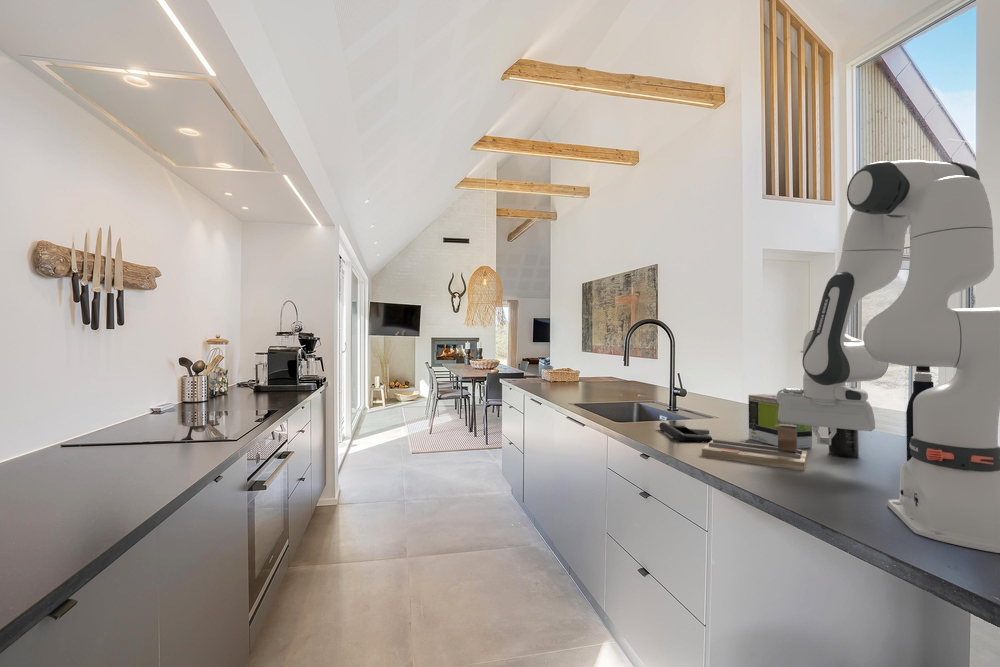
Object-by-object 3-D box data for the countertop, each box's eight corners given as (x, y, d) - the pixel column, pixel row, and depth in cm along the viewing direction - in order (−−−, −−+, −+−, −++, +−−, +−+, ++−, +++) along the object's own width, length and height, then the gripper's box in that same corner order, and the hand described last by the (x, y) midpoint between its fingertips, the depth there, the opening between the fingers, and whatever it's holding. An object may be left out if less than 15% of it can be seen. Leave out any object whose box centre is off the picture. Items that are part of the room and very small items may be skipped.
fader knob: (795, 456, 117) (795, 428, 117) (778, 453, 119) (777, 427, 119) (797, 452, 121) (797, 425, 121) (779, 450, 123) (779, 423, 123)
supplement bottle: (857, 453, 127) (856, 411, 127) (860, 459, 121) (860, 415, 121) (827, 450, 131) (826, 409, 131) (829, 456, 125) (828, 413, 125)
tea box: (813, 447, 134) (813, 399, 134) (785, 450, 132) (785, 400, 132) (773, 436, 149) (772, 392, 149) (747, 438, 147) (747, 393, 147)
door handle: (700, 424, 161) (655, 421, 162) (726, 436, 141) (674, 433, 142) (700, 433, 161) (655, 430, 162) (725, 447, 141) (674, 443, 142)
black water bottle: (944, 475, 107) (943, 351, 107) (908, 471, 111) (907, 350, 111) (939, 469, 112) (938, 350, 112) (905, 464, 116) (904, 350, 116)
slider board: (804, 470, 112) (804, 458, 112) (702, 455, 126) (701, 445, 126) (807, 458, 123) (807, 447, 123) (712, 445, 137) (712, 436, 137)
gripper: (775, 389, 119) (776, 440, 119) (875, 394, 106) (876, 452, 107) (778, 386, 124) (778, 436, 124) (873, 391, 111) (874, 447, 112)
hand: (824, 443), depth 115 cm, fingers closed
